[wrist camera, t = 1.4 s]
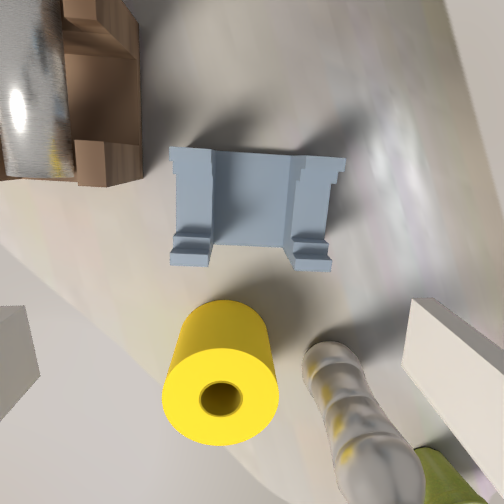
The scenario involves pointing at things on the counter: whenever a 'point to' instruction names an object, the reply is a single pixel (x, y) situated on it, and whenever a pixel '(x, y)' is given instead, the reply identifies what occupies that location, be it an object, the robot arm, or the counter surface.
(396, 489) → the metal bottle
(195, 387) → the yellow hollow cylinder
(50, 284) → the counter surface
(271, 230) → the blue notched cradle
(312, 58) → the counter surface
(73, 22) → the bearing stand
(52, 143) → the steel axle
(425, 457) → the plant pot
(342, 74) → the counter surface
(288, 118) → the counter surface
